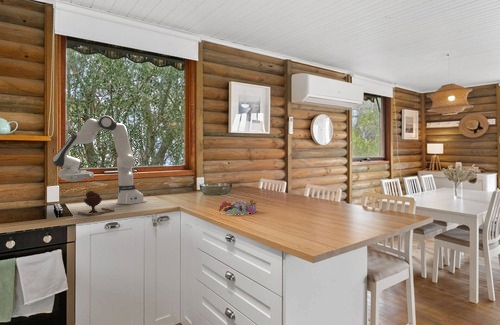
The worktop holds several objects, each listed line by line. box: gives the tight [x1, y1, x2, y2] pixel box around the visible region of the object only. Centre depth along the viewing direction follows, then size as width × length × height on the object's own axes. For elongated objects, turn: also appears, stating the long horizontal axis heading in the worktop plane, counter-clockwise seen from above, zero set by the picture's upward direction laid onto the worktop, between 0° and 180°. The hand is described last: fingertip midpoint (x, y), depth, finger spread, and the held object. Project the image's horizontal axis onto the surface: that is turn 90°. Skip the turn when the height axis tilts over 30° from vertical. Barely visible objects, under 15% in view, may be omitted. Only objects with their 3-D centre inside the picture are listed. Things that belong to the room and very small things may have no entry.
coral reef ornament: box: [218, 198, 258, 215], centre depth 208 cm, size 25×24×9 cm
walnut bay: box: [76, 207, 115, 217], centre depth 207 cm, size 18×14×1 cm
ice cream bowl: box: [83, 190, 103, 214], centre depth 207 cm, size 11×11×15 cm
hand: (84, 176), depth 214 cm, fingers open, 8 cm apart
